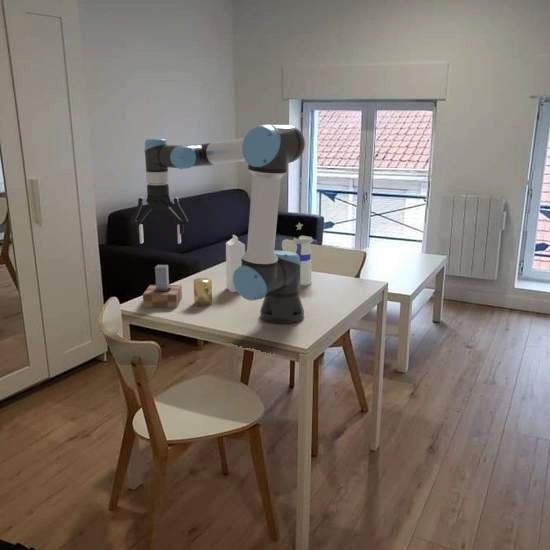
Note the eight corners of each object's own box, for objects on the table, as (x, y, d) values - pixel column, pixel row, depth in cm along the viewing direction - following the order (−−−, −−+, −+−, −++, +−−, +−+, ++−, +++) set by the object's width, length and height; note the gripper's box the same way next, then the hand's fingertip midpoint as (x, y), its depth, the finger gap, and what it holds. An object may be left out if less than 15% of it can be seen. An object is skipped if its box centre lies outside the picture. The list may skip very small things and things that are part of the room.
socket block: (176, 307, 205) (176, 294, 203) (143, 307, 204) (142, 294, 203) (181, 297, 216) (181, 285, 215) (150, 297, 216) (149, 285, 215)
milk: (240, 286, 231) (240, 233, 225) (245, 290, 225) (245, 236, 219) (226, 288, 228) (225, 234, 223) (230, 292, 223) (230, 237, 217)
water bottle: (287, 283, 236) (288, 224, 229) (300, 278, 242) (301, 221, 236) (303, 286, 231) (304, 226, 224) (315, 282, 237) (317, 223, 230)
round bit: (211, 306, 206) (210, 282, 204) (193, 306, 206) (192, 282, 204) (213, 300, 213) (212, 277, 210) (195, 300, 213) (194, 277, 210)
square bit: (167, 304, 208) (166, 267, 205) (156, 304, 208) (155, 267, 205) (169, 300, 212) (168, 264, 208) (159, 300, 212) (157, 264, 208)
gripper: (194, 182, 202) (196, 240, 208) (124, 182, 202) (128, 240, 208) (191, 185, 195) (193, 245, 201) (119, 184, 195) (123, 245, 201)
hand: (160, 242), depth 204 cm, fingers open, 13 cm apart
